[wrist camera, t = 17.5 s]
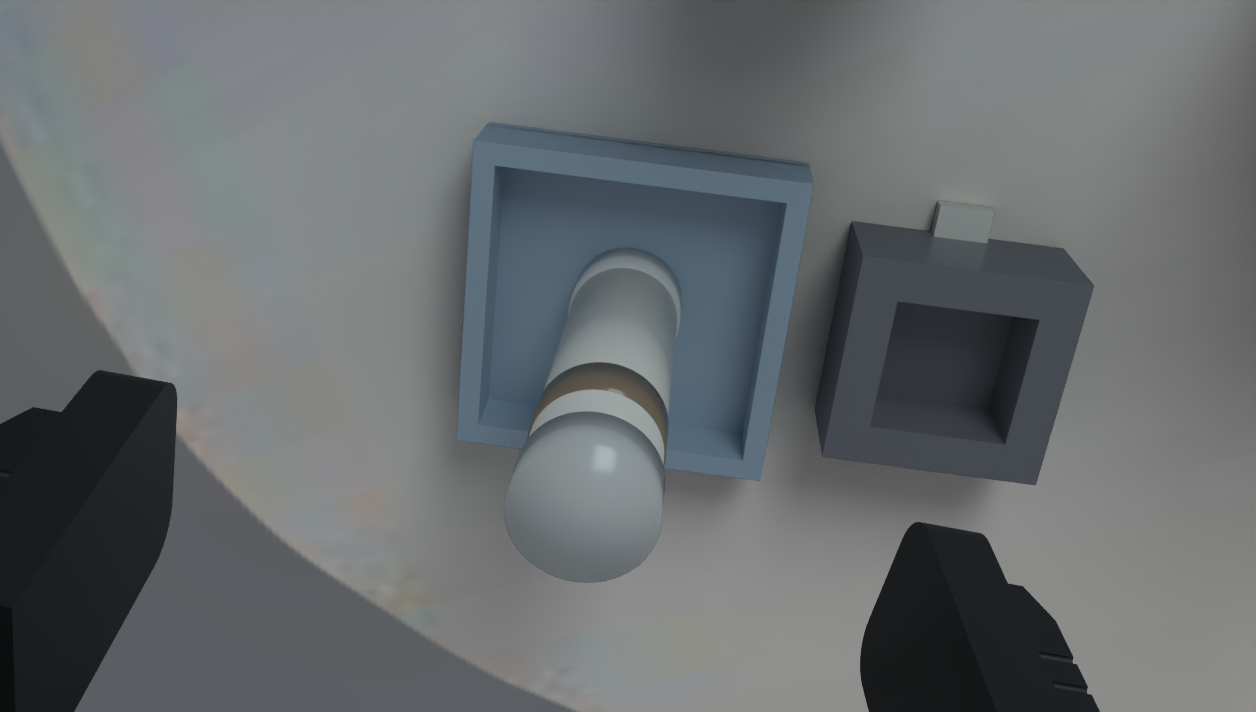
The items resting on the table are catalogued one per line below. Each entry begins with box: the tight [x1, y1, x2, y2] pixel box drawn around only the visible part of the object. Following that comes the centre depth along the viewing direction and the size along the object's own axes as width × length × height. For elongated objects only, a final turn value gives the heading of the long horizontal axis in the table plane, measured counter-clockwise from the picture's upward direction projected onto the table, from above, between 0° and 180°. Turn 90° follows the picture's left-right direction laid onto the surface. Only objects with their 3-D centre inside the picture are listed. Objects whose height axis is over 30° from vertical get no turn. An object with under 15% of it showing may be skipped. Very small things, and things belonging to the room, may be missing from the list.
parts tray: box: [457, 122, 814, 481], centre depth 45 cm, size 12×12×3 cm
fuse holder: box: [815, 201, 1094, 485], centre depth 44 cm, size 8×10×4 cm
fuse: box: [504, 248, 682, 583], centre depth 38 cm, size 4×4×16 cm
